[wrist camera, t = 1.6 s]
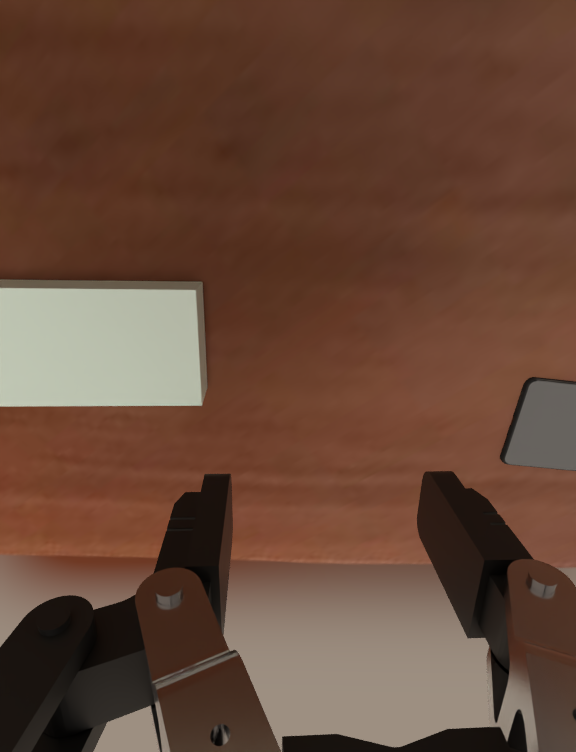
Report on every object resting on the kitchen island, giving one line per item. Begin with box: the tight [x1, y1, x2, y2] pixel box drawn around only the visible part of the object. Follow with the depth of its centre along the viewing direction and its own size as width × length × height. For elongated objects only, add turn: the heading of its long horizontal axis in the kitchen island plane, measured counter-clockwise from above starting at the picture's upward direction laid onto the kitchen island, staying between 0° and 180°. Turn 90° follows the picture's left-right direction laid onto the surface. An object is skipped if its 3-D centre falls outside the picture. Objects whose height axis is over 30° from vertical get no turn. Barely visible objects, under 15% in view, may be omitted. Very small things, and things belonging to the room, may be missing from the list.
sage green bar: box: [0, 279, 207, 406], centre depth 27 cm, size 7×16×3 cm, turn 89°
